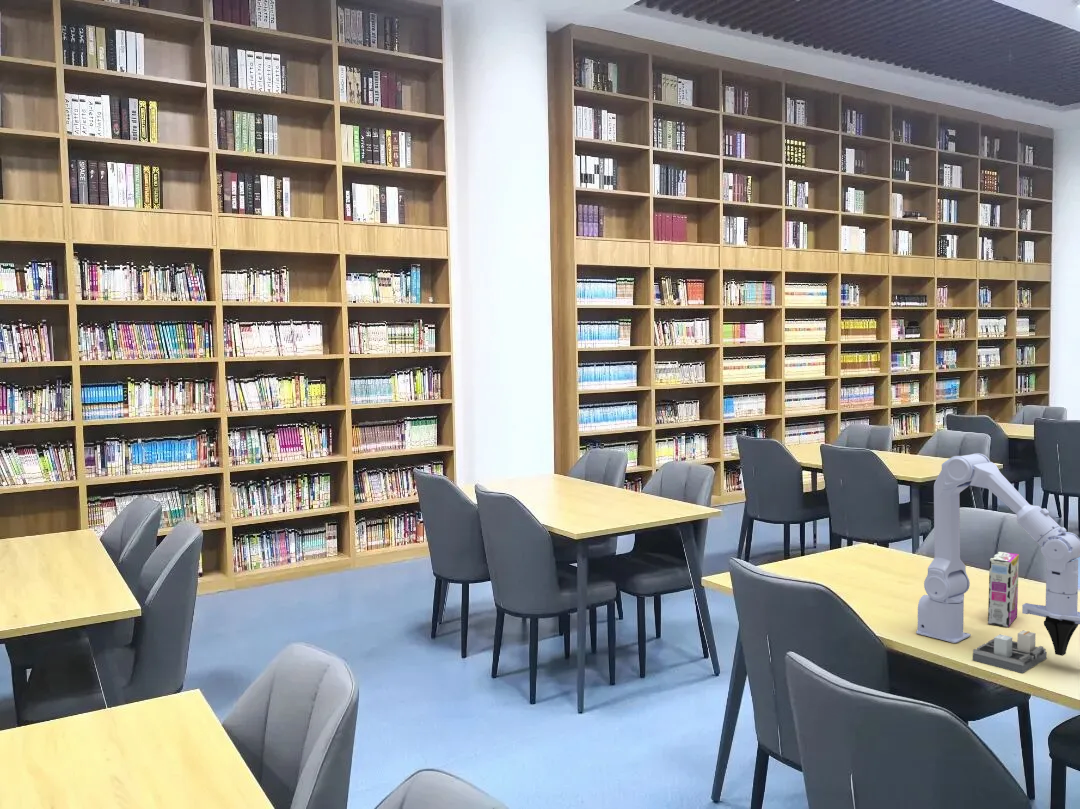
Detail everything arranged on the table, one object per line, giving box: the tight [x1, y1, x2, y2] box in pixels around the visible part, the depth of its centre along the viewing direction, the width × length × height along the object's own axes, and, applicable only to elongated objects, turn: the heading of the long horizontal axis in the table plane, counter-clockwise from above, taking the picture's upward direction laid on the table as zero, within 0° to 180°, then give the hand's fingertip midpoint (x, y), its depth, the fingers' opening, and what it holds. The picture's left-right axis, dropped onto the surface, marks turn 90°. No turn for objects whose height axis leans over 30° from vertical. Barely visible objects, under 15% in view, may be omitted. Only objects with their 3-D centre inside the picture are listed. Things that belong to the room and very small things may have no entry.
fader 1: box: [993, 634, 1013, 657], centre depth 178 cm, size 2×3×4 cm
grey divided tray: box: [972, 638, 1048, 674], centre depth 180 cm, size 10×13×3 cm
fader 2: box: [1016, 630, 1037, 652], centre depth 180 cm, size 2×3×4 cm
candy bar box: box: [987, 551, 1020, 628], centre depth 206 cm, size 11×5×16 cm, turn 141°
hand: (1060, 654), depth 175 cm, fingers closed
